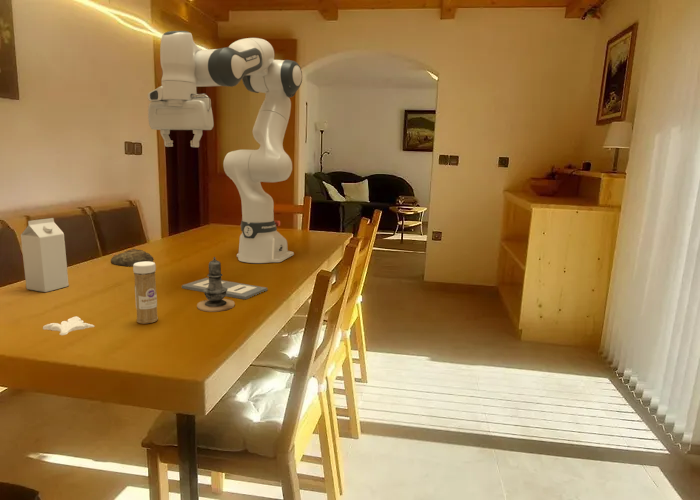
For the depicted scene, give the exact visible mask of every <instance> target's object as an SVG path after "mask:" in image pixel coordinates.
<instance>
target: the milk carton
mask: <svg viewBox="0 0 700 500" xmlns="http://www.w3.org/2000/svg"><path fill="white" fill-rule="evenodd" d="M27 223H28V225H27V226H26V228H25V229H24V231H22V232H21V234H20V240H21V252H22V259H23V260H22V261H23V268H24V279H25V287H26V290H30V291H36V292H42V293H48V292H52V291H56V290H58V289H62V288H66V287H69V285H70V284H69V275H68V273H69V272H68V263H67V255H66V253H67V252H66V251H67V250H66V242H65V234H64V233H65V232H63V230H62V229H61V228H60V227H59V226H58V225H57V224H56V222H55V218H54V217H51V218H50V217H49V218H43V219H42V218H41V219H35V220H28V221H27Z"/></svg>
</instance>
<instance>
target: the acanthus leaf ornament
mask: <svg viewBox="0 0 700 500" xmlns="http://www.w3.org/2000/svg"><path fill="white" fill-rule="evenodd" d="M94 327H95V325H94V324H92V323H91V324H90V323H87V322H84V320H82V318H80V317H79V316H73V317H70V318H68V319H67V320H63V321H61V322H60V323H58V322H52V323H51V322H50V323H47V324H45V325H43V327H42V330H48V331H52V332H53V331H55V332H59V336H65V335H68V333H70V332H74V331H79V330H85V329H89V328H94Z"/></svg>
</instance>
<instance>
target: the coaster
mask: <svg viewBox="0 0 700 500" xmlns="http://www.w3.org/2000/svg"><path fill="white" fill-rule="evenodd" d="M222 300H224V301H226V302H227V304H226V305H223V306H219V307H209V306H206V305H205V303H206V302H207V301H209V300H208V299H204V300H201V301H199V302H197V304H196V307H197V310H199V311H201V312H202V311H203V312H210V313H215V312H224V311H228V310H230V309H232V308H234V307H235V306H236V305H235V304H236V303H235V301H234V300H232V299H229V298H223V299H222Z"/></svg>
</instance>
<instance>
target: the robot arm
mask: <svg viewBox="0 0 700 500" xmlns="http://www.w3.org/2000/svg"><path fill="white" fill-rule="evenodd" d="M192 34H193V33H191V32H189V31H187V30H170V31H166V32H164V33H163V34H162V36H161V39H160V49H159V52H160V53H159V56H160V66H161V70H162V77H161V86H158V87H157V88H156V89H153V90H150V91H149V92H148V93H147V99H148V101H150V102H149V103H148V106H147V107H148V109H147V112H148V113H147V116H148V117H147V119H148V126H149V127H150V129H151V130H154V131H155V130H156V131H159V132H160V133H159V134H160V135H161V137H162V139H163V142H164V147H165V148H166V147H167V148H169V147H174V144H173V143H174V140H171V138H170V136H169V135H170V132H171V131H192V134H194V135H193V138H192V140H190V142H189V143H190V147H191V148H199V147H200V141H201V138H202V136H203V131H211V130H213V128H214V125H215V124H214V123H215V122H214V114H213V110H212V101H211V98H210V97H209V96H208V95H207V93H198V92H197V88H198V87H232V88H233V87H236V86H237V85H238V84H239V83H240V82H241V81H242V85H244V87H245V89H246V90H247V91H248V92H251V93H255V94H256V93H257V94H259V93H262V94H265V98H264V100H263V102H262V104H261V106H260V108H259V109H258V113H257V115H256V118H255V122H254V124H253V127H252V136H253V139H254V140H255V142H256V143H258V144H259V148H258V149H237V150H232V151H229V152H228V153H226V155H225V156H224V159H223V161H222V162H223V163H222V165H223V171H224V173H225V175H226V176H227V177H228V178H229V179H230V180H232V182H233V183H234V185H235V186H236V189H237V191H238V193H239V197H240V200H241V215H242V216H241V221H240V231H241V233H240V235H239V244H238V253H237V254H236V258H237V259H238V261H239V262H242V263H248V264H268V263H281V262H283V261H285V260H286V259H289V258H291V257H292V256H294V255H295V253H294V251H290V250H288V240H287V239H286V237H284V235H282V234H281V233H280V232H279V231H277V227H280V226H281V221H280V220H275V218H274V217H275V216H274V208H275V207H274V206H275V204H274V199H273V197H272V196H271V195H270V194H269V193H268V192H266V191H265V190H264V189H263V186H262V184H261V183H262V182H263V183H278V182H279V183H280V182H283V181H286V180H288V179H289V178H290V176H291V174H292V171H293V161H292V159H291V157H290V155H289V154H288V153H287V152H286V151H285V150H284V146H283V145H284V144H283V142H284V138H285V134H286V132H287V131H286V130H287V128H288V124H289V122H290V121H289V119H290V116H291V109H292V101H291V99H290V98H293V97H294V96H295V95H296V93H297V91H299V88H300V87H301V85H302V83H303V82H302V81H303V71H302V67H301V66H300V65H299V63H298V61H295V60H290V59H284V60H283V59H275V49H274V47H273V45H272V44H271V43H270V42H269V41H267V40H266V39H263V38H261V37H260V38H259V37H248V38H247V37H246V38H241V39H238V40H235V41H234V42H232V43H231V44H230V45H229V46H227V47H221V48H220V47H219V48H213V49H202V48H200V47H199V46H198V45H197V44H196V43H195V41H194V37H193V35H192Z"/></svg>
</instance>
